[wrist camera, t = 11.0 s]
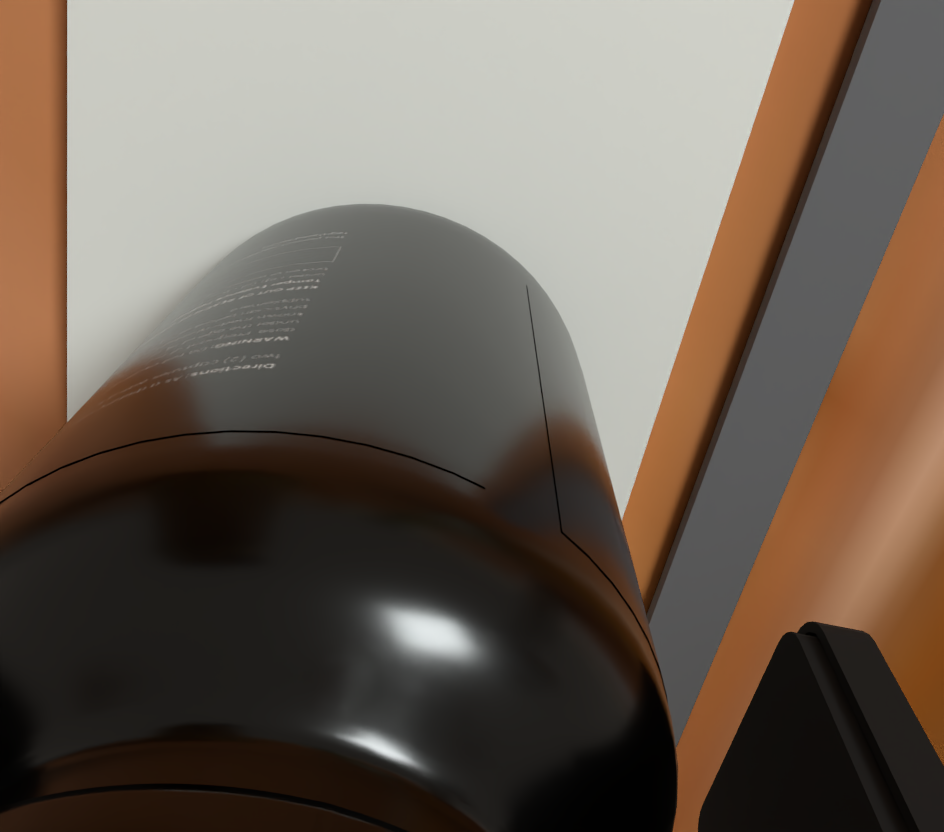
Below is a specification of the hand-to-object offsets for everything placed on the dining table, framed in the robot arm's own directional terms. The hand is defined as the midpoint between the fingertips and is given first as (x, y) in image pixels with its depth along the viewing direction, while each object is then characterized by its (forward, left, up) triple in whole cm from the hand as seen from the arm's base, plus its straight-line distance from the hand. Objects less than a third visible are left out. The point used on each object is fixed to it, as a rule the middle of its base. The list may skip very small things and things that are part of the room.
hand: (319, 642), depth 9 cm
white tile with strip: (-1, 0, -7) cm, 7 cm away
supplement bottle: (0, 0, -7) cm, 7 cm away
